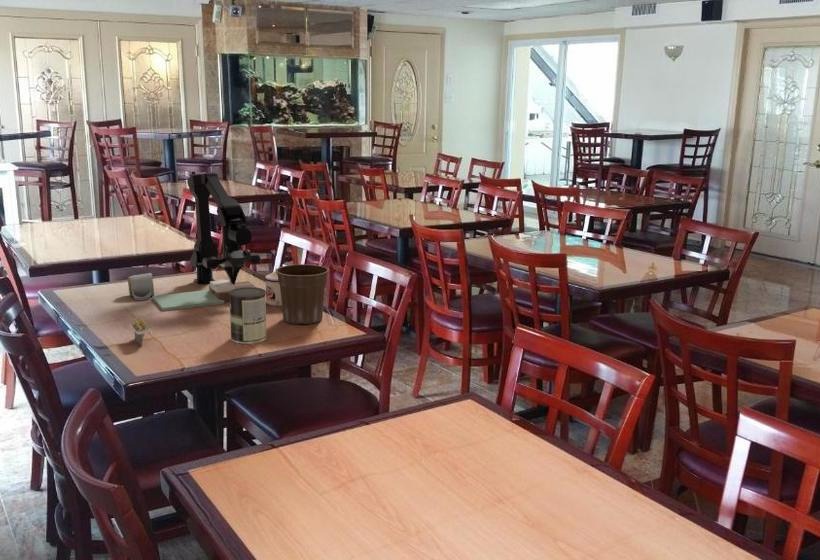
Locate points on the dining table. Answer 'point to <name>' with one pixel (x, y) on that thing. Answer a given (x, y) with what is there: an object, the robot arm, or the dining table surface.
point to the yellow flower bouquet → (139, 330)
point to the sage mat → (186, 300)
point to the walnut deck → (225, 295)
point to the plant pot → (302, 292)
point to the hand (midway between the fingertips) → (232, 284)
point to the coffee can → (248, 315)
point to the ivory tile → (221, 285)
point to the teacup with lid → (273, 290)
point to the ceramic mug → (141, 286)
